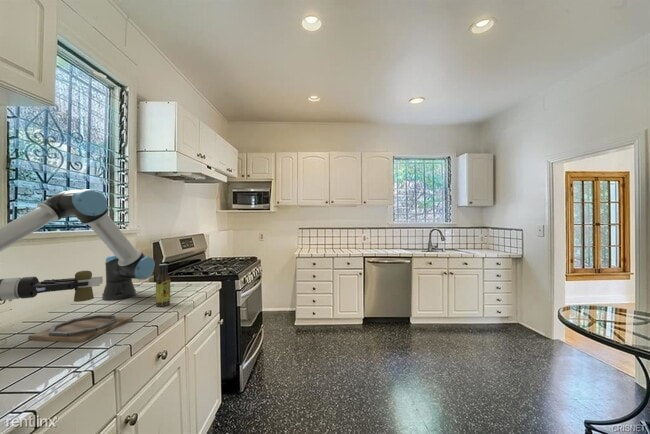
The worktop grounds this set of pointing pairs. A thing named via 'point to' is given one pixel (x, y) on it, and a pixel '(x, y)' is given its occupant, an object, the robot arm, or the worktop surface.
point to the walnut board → (80, 326)
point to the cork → (83, 292)
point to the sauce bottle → (163, 286)
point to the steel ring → (55, 333)
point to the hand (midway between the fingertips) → (100, 281)
